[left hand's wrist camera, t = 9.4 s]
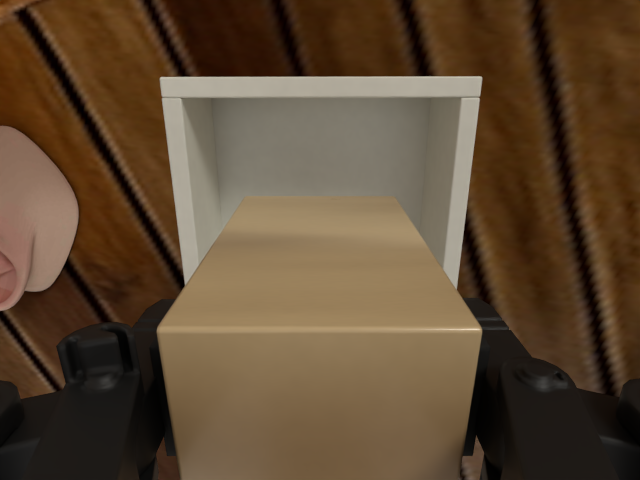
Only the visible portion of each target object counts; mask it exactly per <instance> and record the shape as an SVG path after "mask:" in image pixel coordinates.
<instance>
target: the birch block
mask: <svg viewBox="0 0 640 480" xmlns="http://www.w3.org/2000/svg"><path fill="white" fill-rule="evenodd" d="M481 337H482V328H481V326H480V324H479V323H478V321H477V320H476V318H475V317H474V315H473V314H472V312H471V311H470V309H469V308H468V306H467V305H466V303H465V302H464V300H463V299H462V297H461V296H460V294H459V293H458V291H457V290H456V288H455V287H454V285H453V284H452V282H451V281H450V279H449V278H448V276H447V274H446V273H445V271H444V270H443V268H442V267H441V265H440V264H439V262H438V261H437V259H436V258H435V256H434V255H433V253H432V252H431V250H430V249H429V247H428V246H427V244H426V243H425V241H424V240H423V238H422V237H421V235H420V234H419V232H418V231H417V229H416V228H415V226H414V225H413V223H412V222H411V220H410V219H409V217H408V216H407V214H406V212H405V211H404V209H403V208H402V206H401V205H400V203H399V202H398V200H397V199H396V197H394V196H246V197H244V198H243V200H242V201H241V203H240V204H239V206H238V207H237V209H236V210H235V212H234V213H233V215H232V216H231V218H230V219H229V221H228V222H227V224H226V225H225V227H224V228H223V230H222V231H221V233H220V234H219V236H218V237H217V239H216V240H215V242H214V243H213V245H212V246H211V248H210V249H209V251H208V252H207V254H206V255H205V257H204V258H203V260H202V261H201V263H200V264H199V266H198V267H197V269H196V270H195V272H194V273H193V275H192V276H191V278H190V279H189V281H188V282H187V284H186V285H185V287H184V288H183V290H182V291H181V293H180V294H179V296H178V297H177V299H176V300H175V302H174V303H173V305H172V306H171V308H170V309H169V311H168V312H167V314H166V315H165V317H164V318H163V320H162V321H161V323H160V324H159V326H158V327H157V338H158V344H159V350H160V357H161V363H162V369H163V376H164V382H165V388H166V394H167V401H168V407H169V413H170V419H171V426H172V432H173V438H174V444H175V451H176V457H177V463H178V469H179V476H180V480H459V476H460V469H461V463H462V457H463V450H464V444H465V438H466V432H467V425H468V419H469V413H470V406H471V400H472V394H473V387H474V381H475V375H476V368H477V362H478V356H479V350H480V343H481Z"/></svg>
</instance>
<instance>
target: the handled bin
mask: <svg viewBox="0 0 640 480" xmlns="http://www.w3.org/2000/svg"><path fill="white" fill-rule="evenodd" d="M481 85H482V77H481V76H442V77H161V78H160V86H161V94H162V97H163V98H162V103H163V112H164V120H165V128H166V136H167V144H168V152H169V160H170V168H171V176H172V184H173V192H174V200H175V208H176V216H177V224H178V233H179V241H180V249H181V257H182V265H183V273H184V281H185V285H186V284H187V282H188V281H189V279H190V278H191V276H192V275H193V273H194V272H195V270H196V269H197V267H198V266H199V264H200V263H201V261H202V260H203V258H204V257H205V255H206V254H207V252H208V251H209V249H210V248H211V246H212V245H213V243H214V242H215V240H216V239H217V237H218V236H219V234H220V233H221V231H222V230H223V228H224V227H225V225H226V224H227V222H228V221H229V219H230V218H231V216H232V215H233V213H234V212H235V210H236V209H237V207H238V206H239V204H240V203H241V201H242V200H243V198H244V197H246V196H394V197H396V199H397V200H398V202H399V203H400V205H401V206H402V208H403V209H404V211H405V212H406V214H407V216H408V217H409V219H410V220H411V222H412V223H413V225H414V226H415V228H416V229H417V231H418V232H419V234H420V235H421V237H422V238H423V240H424V241H425V243H426V244H427V246H428V247H429V249H430V250H431V252H432V253H433V255H434V256H435V258H436V259H437V261H438V262H439V264H440V265H441V267H442V268H443V270H444V271H445V273H446V274H447V276H448V278H449V279H450V281H451V282H452V284H453V285H454V287H455V288H456V290H457V282H458V273H459V265H460V257H461V249H462V241H463V232H464V224H465V216H466V208H467V200H468V191H469V183H470V175H471V167H472V159H473V150H474V142H475V134H476V126H477V118H478V109H479V101H480V99H479V98H478V97H480V93H481Z"/></svg>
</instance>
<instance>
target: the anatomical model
mask: <svg viewBox="0 0 640 480" xmlns="http://www.w3.org/2000/svg"><path fill="white" fill-rule="evenodd" d="M78 218H79V210H78V204H77V200H76V197H75V194H74V192H73V190H72V188H71V186H70V185H69V183H68V182H67V180H66V178H65V177H64V176H63V174H62V173H61V172H60V170H59V169H58V168H57V166H56V165H55V164H54V163H53V162H52V161H51V160H50V159H49V157H48V156H47V155H46V154H45V153H44V152H43V151H42V150H41V149H40V148H39V147H38V146H37V145H36V144H35V143H34V142H32V141H31V140H30V139H29V138H28V137H27V136H25V135H24V134H23V133H21V132H20V131H18V130H16V129H14V128H11V127H8V126H0V311H2V310H7V309H9V308H11V307H12V306H14V305H15V304H16V303H17V302H18V301H19V299H20V298H21V296H22V295H23V293H24V291H34V292H36V291H42V290H45V289H47V288H48V287H50V286H51V285H52V284H53V283H54V281H55V280H56V278H57V277H58V275H59V274H60V272H61V270H62V268H63V266H64V264H65V262H66V260H67V257H68V255H69V252H70V249H71V247H72V244H73V241H74V237H75V234H76V230H77V225H78Z"/></svg>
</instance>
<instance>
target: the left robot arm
mask: <svg viewBox="0 0 640 480" xmlns="http://www.w3.org/2000/svg"><path fill="white" fill-rule="evenodd" d="M462 299H463V300H464V302H465V303H466V305H467V306H468V308H469V309H470V311H471V312H472V314H473V315H474V317H475V318H476V320H477V321H478V323H479V324H480V326H481V328H482V337H481V343H480V350H479V356H478V362H477V368H476V375H475V381H474V387H473V394H472V400H471V406H470V413H469V419H468V425H467V432H466V438H465V444H464V450H463V456H473V450H474V444H475V438H476V435H477V437H478V440H479V442H480V444H481V446H482V449H483V451H484V458H483V464H482V469H481V475H480V480H640V379H633V380H629V381H628V382H626V383H625V384H624V385H623V388H622V391H621V394H620V397H615V396H610V395H605V394H601V393H596V392H591V391H586V390H582V389H579V388H576V386H575V383H574V382H573V381H572V379H571V378H570V377H569V375H568V374H567V373H565V372H564V371H563V370H561V369H560V368H558V367H557V366H555V365H553V364H551V363H548V362H546V361H544V360H540V359H536V358H532V357H531V355H530V354H529V353H528V352H527V350H526V349H525V348H524V346H523V345H522V344H521V343H520V341H519V340H518V339H517V337H516V336H515V335H514V334H513V332H512V331H511V330H509V327H508V326H507V325H506V323H505V322H504V321H502V318H501V317H500V316H499V314H498V313H497V312H496V310H495V309H494V308H493V307H492V306H490V305H488V304H487V303H485V302H484V301H482V300H481V299H479V298H462ZM175 300H176V299H162V300H160V301H158V302H157V303H155V304H154V305H152V306H151V307H149V308H147V309H146V311H145V312H144V313H143V314H142V316H141V317H140V318H139V320H138V322H136V323H135V325H134V326H133V327H132V328H131V327H130V326H129V325H127V324H123V323H118V322H108V323H100V324H95V325H90V326H87V327H84V328H82V329H79V330H77V331H74V332H73V333H71V334H70V335H68V336H66V337H65V338H63V339H62V340H61V342H60V343H59V344H58V345H57V346H56V347H57V351H58V355H59V359H60V362H61V366H62V370H63V374H64V378H65V382H66V384H65V386H64V388H63V390H61V391H57V392H53V393H48V394H44V395H39V396H34V397H29V398H24V399H20V395H19V392H18V389H17V387H16V386H15V385H14V384H13V383H11V382H8V381H1V380H0V480H158V473H159V471H158V464H157V458H156V452H157V450H158V448H159V446H160V443H161V441H162V439H163V437H164V440H165V446H166V452H167V456H176V451H175V444H174V438H173V432H172V426H171V419H170V413H169V407H168V401H167V394H166V388H165V382H164V376H163V369H162V363H161V357H160V350H159V344H158V338H157V327H158V326H159V324H160V323H161V321H162V320H163V318H164V317H165V315H166V314H167V312H168V311H169V309H170V308H171V306H172V305H173V303H174V302H175Z"/></svg>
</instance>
